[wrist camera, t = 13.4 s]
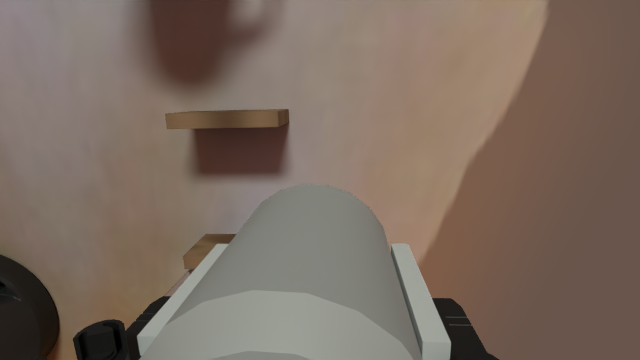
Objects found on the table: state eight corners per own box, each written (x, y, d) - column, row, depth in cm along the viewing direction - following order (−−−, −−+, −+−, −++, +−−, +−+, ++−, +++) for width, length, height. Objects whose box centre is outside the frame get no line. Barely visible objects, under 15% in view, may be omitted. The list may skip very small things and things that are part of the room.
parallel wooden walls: (207, 245, 35) (184, 268, 30) (192, 111, 32) (165, 113, 27) (294, 245, 34) (285, 270, 30) (288, 109, 31) (277, 111, 26)
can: (370, 322, 19) (410, 676, 7) (237, 295, 19) (74, 599, 8) (401, 194, 17) (522, 396, 6) (255, 166, 17) (77, 305, 6)
